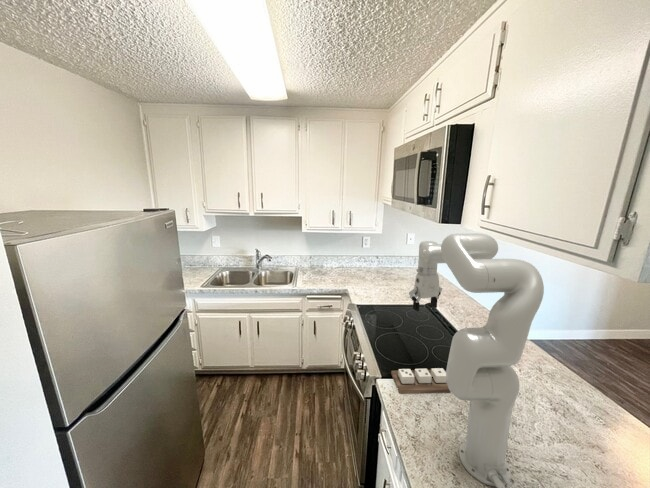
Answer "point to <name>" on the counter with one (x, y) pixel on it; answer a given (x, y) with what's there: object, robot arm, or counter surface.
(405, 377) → the white square block
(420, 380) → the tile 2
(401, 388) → the keypad board
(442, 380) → the keypad button
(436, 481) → the counter surface
